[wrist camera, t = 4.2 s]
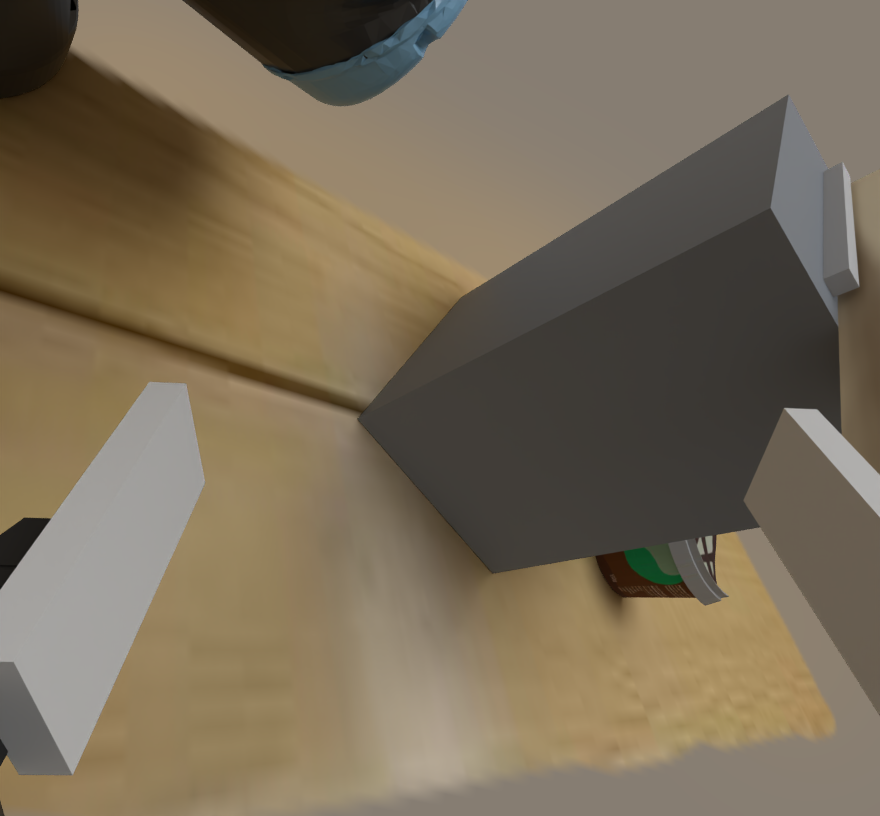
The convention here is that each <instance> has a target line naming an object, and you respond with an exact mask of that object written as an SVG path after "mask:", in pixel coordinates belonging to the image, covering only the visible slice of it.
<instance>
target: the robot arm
mask: <svg viewBox="0 0 880 816" xmlns="http://www.w3.org/2000/svg"><path fill="white" fill-rule="evenodd" d="M183 1H184V2H185V3H187V4H188V5H189V6H190V7H192V8H193V9H194V10H195V11H197V12H198V13H199V14H201V15H202V16H203V17H204V18H205V19H207V20H208V21H209V22H210V23H212V24H213V25H214V26H215V27H217V28H218V29H219V30H221V31H222V32H223V33H224V34H226V35H227V36H228V37H229V38H231V39H232V40H233V41H234V42H236V43H237V44H238V45H239V46H241V47H242V48H243V49H244V50H246V51H247V52H248V53H249V54H251V55H252V56H253V57H254V58H256V59H257V60H258V61H259V62H261V63H262V64H263V66H264V67H265V68H266V69H267V70H268V71H269V72H271V73H272V74H274V75H276V76H279V77H281V78H283V79H286V80H289V81H290V82H292V83H293V84H295V85H296V86H298V87H299V88H301V89H302V90H303V91H305V92H306V93H308V94H309V95H311V96H312V97H314V98H315V99H316V100H318V101H320V102H322V103H325V104H328V105H333V106H350V105H355V104H358V103H361V102H364V101H366V100H368V99H371V98H373V97H375V96H377V95H378V94H380V93H382V92H383V91H385V90H386V89H388V88H389V87H390V86H392V85H394V84H395V83H396V82H398V81H399V80H400V79H401V78H402V77H403V76H405V75H406V74H407V73H408V72H409V71H410V70H412V69H413V68H414V67H415V66H416V65H417V64H418V63H419V61H420V60H421V59H422V58H423V56H424V53H425V51H426V48H427V47H428V45H429V44H430V43H431V42H433V41H435V40H437V39H440V38H441V37H442V36H443V35H444V33H445V32H446V30H447V29H448V28H449V27H450V26H451V24H452V23H453V21H455V19H456V18H457V16H458V15H459V13H460V12H461V10H462V9H463V7H464V5H465V4H466V2H467V1H468V0H183ZM77 21H78V0H0V98H6V97H11V96H16V95H20V94H23V93H26V92H29V91H31V90H34V89H36V88H38V87H40V86H41V85H43V84H45V83H46V82H47V81H49V80H50V79H51V78H52V77H53V76H54V75H55V74H56V73H57V72H58V71H59V70H60V68H61V66H62V65H63V63H64V61H65V59H66V56H67V54H68V51H69V48H70V46H71V43H72V40H73V37H74V34H75V31H76V27H77ZM204 484H205V479H204V474H203V469H202V464H201V458H200V453H199V448H198V443H197V438H196V432H195V427H194V422H193V417H192V411H191V406H190V401H189V396H188V391H187V385H186V383H163V382H149V383H148V385H147V386H146V387H145V389H144V390H143V392H142V393H141V394H140V396H139V397H138V398H137V400H136V401H135V403H134V404H133V405H132V407H131V408H130V410H129V411H128V412H127V414H126V415H125V417H124V418H123V419H122V421H121V422H120V424H119V425H118V426H117V428H116V429H115V431H114V432H113V433H112V435H111V436H110V438H109V439H108V440H107V442H106V443H105V444H104V446H103V447H102V449H101V450H100V451H99V453H98V454H97V456H96V457H95V458H94V460H93V461H92V463H91V464H90V465H89V467H88V468H87V470H86V471H85V472H84V474H83V475H82V477H81V478H80V479H79V481H78V482H77V484H76V485H75V486H74V488H73V489H72V490H71V492H70V493H69V495H68V496H67V497H66V499H65V500H64V502H63V503H62V504H61V506H60V507H59V509H58V510H57V511H56V513H55V514H54V516H53V517H52V518H51V519H49V518H23V519H22V520H20V521H19V522H18V523H16V524H15V525H14V526H12V527H11V528H9V529H8V530H7V531H5V532H4V533H2V534H1V535H0V766H1V764H2V762H3V760H4V759H5V757H6V755H7V756H8V757H9V759H10V760H11V762H12V764H13V765H14V767H15V769H16V770H17V772H18V774H19V775H73V773H74V771H75V769H76V767H77V764H78V762H79V760H80V758H81V756H82V753H83V751H84V749H85V747H86V745H87V742H88V740H89V738H90V736H91V734H92V731H93V729H94V727H95V725H96V723H97V720H98V718H99V716H100V714H101V712H102V709H103V707H104V705H105V703H106V700H107V698H108V696H109V694H110V692H111V689H112V687H113V685H114V683H115V681H116V678H117V676H118V674H119V672H120V670H121V667H122V665H123V663H124V661H125V659H126V656H127V654H128V652H129V650H130V648H131V645H132V643H133V641H134V639H135V637H136V634H137V632H138V630H139V628H140V625H141V623H142V621H143V619H144V617H145V614H146V612H147V610H148V608H149V606H150V603H151V601H152V599H153V597H154V595H155V592H156V590H157V588H158V586H159V584H160V581H161V579H162V577H163V575H164V573H165V570H166V568H167V566H168V564H169V561H170V559H171V557H172V555H173V553H174V550H175V548H176V546H177V544H178V542H179V539H180V537H181V535H182V533H183V531H184V528H185V526H186V524H187V522H188V520H189V517H190V515H191V513H192V511H193V509H194V506H195V504H196V502H197V500H198V498H199V495H200V493H201V491H202V489H203V486H204ZM743 501H744V502H745V504H746V506H747V507H748V509H749V510H750V512H751V513H752V515H753V517H754V518H755V520H756V521H757V523H758V525H759V526H760V528H761V529H762V531H763V532H764V534H765V536H766V537H767V539H768V540H769V542H770V543H771V545H772V547H773V548H774V550H775V551H776V553H777V555H778V556H779V558H780V559H781V561H782V562H783V564H784V566H785V567H786V569H787V570H788V572H789V573H790V575H791V577H792V578H793V580H794V581H795V583H796V584H797V586H798V588H799V589H800V591H801V592H802V594H803V596H804V597H805V599H806V600H807V602H808V603H809V605H810V607H811V608H812V610H813V611H814V613H815V614H816V616H817V618H818V619H819V620H820V622H821V624H822V626H823V627H824V629H825V630H826V632H827V633H828V635H829V637H830V638H831V640H832V641H833V643H834V644H835V646H836V648H837V649H838V651H839V652H840V654H841V656H842V657H843V659H844V660H845V662H846V663H847V665H848V666H849V668H850V670H851V671H852V673H853V674H854V676H855V677H856V679H857V680H858V682H859V684H860V686H861V687H862V689H863V690H864V692H865V693H866V695H867V696H868V698H869V700H870V701H871V703H872V704H873V706H874V707H875V709H876V711H877V712H878V714H879V715H880V475H879V474H878V473H877V472H876V471H875V469H874V468H873V467H872V466H871V465H870V464H869V463H868V462H867V461H866V460H865V459H864V458H863V457H862V456H861V455H860V454H859V453H858V452H857V451H856V450H855V449H854V447H853V446H852V445H851V444H850V443H849V442H848V441H847V440H846V439H845V438H844V437H843V436H842V435H841V434H840V433H839V432H838V431H837V430H836V429H835V428H834V426H833V425H832V424H831V423H830V422H829V421H828V420H827V419H826V418H825V417H824V416H823V415H822V414H821V413H820V412H819V411H818V410H817V409H795V408H784V409H783V412H782V414H781V416H780V418H779V421H778V423H777V425H776V428H775V430H774V432H773V434H772V437H771V439H770V441H769V444H768V446H767V448H766V450H765V453H764V455H763V457H762V459H761V462H760V464H759V466H758V469H757V471H756V473H755V475H754V478H753V480H752V482H751V484H750V487H749V489H748V491H747V494H746V496H745V498H744V500H743ZM0 816H4V813H3V809H2V805H1V802H0Z"/></svg>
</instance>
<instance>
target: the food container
mask: <svg viewBox="0 0 880 816" xmlns="http://www.w3.org/2000/svg"><path fill="white" fill-rule="evenodd" d="M715 551H716V535H712V536H707V537H701V538H695V539H689V540H683V541H678V542H672V543H666V544H660V545H655V546H649V547H643V548H637V549H632V550H626V551H620V552H614V553H608V554H603V555H597V556H596V559H597V562H598V565H599V567H600V570H601V572H602V574H603V576H604V578H605V579H606V581H607V582H608V584H609V585H610V586H611V588H612V589H613V590H614V591H615V592H616V593H617V594H619V595H620V596H622V597H669V598H697V599H698V600H699V601H700V602H701V603H703V604H704V605H709V604H712V603H715V602H718V601H721V598H724V597H729V596H728V595H727V594H726V593H724V592H723V591H722V590H721V589H720V588H719V587H718V585H717V582H716V576H715Z"/></svg>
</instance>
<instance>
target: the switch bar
mask: <svg viewBox="0 0 880 816" xmlns="http://www.w3.org/2000/svg"><path fill="white" fill-rule="evenodd" d="M851 193H852V205H853V217H854V229H855V241H856V253H857V264H858V276H859V287H858V288H856V289H853V290H851V291H848V292H846V293H843V294H840V295H838V296H837V298H838V331H839V364H840V397H841V429H842V436H843V437H844V438H845V439H846V440H847V441H848V442H849V443H850V444H851V445H852V446H853V447H854V449H855V450H856V451H857V452H858V453H859V454H860V455H861V456H862V457H863V458H864V459H865V460H866V461H867V462H868V463H869V464H870V465H871V466H872V467H873V468H874V469H875V471H876V472H877V473H878V474H879V475H880V169H879V170H877V171H875V172H873V173H871V174H869V175H867V176H865V177H863V178H861V179H859V180H857V181H855V182H853V183H851Z"/></svg>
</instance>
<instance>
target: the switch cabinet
mask: <svg viewBox="0 0 880 816" xmlns="http://www.w3.org/2000/svg"><path fill="white" fill-rule="evenodd" d="M858 287H859V276H858V264H857V253H856V241H855V229H854V217H853V205H852V193H851V182H850V175H849V173H848V171H847V170H846V168H845V166H844V164H843V162H841V163H839V164H837V165H835V166H834V167H832V168H830V169H828V168H827V166H826V165H825V162H824V161H823V159H822V157H821V155H820V153H819V151H818V149H817V147H816V145H815V143H814V141H813V140H812V138H811V136H810V134H809V132H808V130H807V128H806V126H805V125H804V123H803V121H802V119H801V117H800V115H799V113H798V111H797V109H796V107H795V105H794V104H793V102H792V100H791V98H790V96H789V95H787V96H785V97H784V98H782V99H781V100H779V101H777V102H776V103H774V104H772V105H771V106H769V107H768V108H766V109H764V110H763V111H761V112H760V113H758V114H756V115H755V116H753V117H751V118H750V119H748V120H747V121H745V122H743V123H742V124H740V125H739V126H737V127H735V128H734V129H732V130H731V131H729V132H727V133H726V134H724V135H722V136H721V137H719V138H718V139H716V140H715V141H713V142H711V143H710V144H708V145H707V146H705V147H703V148H701V149H700V150H698V151H697V152H695V153H694V154H692V155H690V156H689V157H687V158H686V159H684V160H682V161H680V162H679V163H677V164H676V165H674V166H672V167H671V168H669V169H668V170H666V171H664V172H663V173H661V174H660V175H658V176H656V177H655V178H653V179H651V180H650V181H648V182H647V183H645V184H643V185H642V186H640V187H639V188H637V189H635V190H634V191H632V192H631V193H629V194H627V195H626V196H624V197H622V198H621V199H619V200H618V201H616V202H614V203H613V204H611V205H610V206H608V207H606V208H605V209H603V210H602V211H600V212H598V213H597V214H595V215H593V216H592V217H590V218H589V219H587V220H586V221H584V222H582V223H581V224H579V225H577V226H576V227H574V228H572V229H571V230H569V231H568V232H566V233H564V234H563V235H561V236H560V237H558V238H556V239H555V240H553V241H551V242H550V243H548V244H547V245H545V246H544V247H542V248H540V249H539V250H537V251H536V252H534V253H532V254H531V255H529V256H527V257H526V258H524V259H523V260H521V261H519V262H518V263H516V264H514V265H513V266H511V267H510V268H508V269H506V270H505V271H503V272H502V273H500V274H498V275H497V276H495V277H494V278H492V279H490V280H489V281H487V282H485V283H484V284H482V285H481V286H479V287H477V288H476V289H474V290H472V291H471V292H469V293H468V294H466V295H464V296H463V297H461V298H460V299H459V301H458V302H457V303H456V304H455V305H454V306H453V308H452V309H451V310H450V311H449V312H448V314H447V315H446V316H445V317H444V318H443V319H442V321H441V322H440V323H439V324H438V325H437V326H436V328H435V329H434V330H433V331H432V332H431V333H430V335H429V336H428V337H427V338H426V339H425V341H424V342H423V343H422V344H421V345H420V346H419V348H418V349H417V350H416V351H415V352H414V353H413V355H412V356H411V357H410V358H409V359H408V360H407V362H406V363H405V364H404V365H403V366H402V367H401V369H400V370H399V371H398V372H397V373H396V375H395V376H394V377H393V378H392V379H391V380H390V382H389V383H388V384H387V385H386V386H385V387H384V389H383V390H382V391H381V392H380V393H379V394H378V396H377V397H376V398H375V399H374V400H373V401H372V403H371V404H370V405H369V406H368V407H367V409H366V410H365V411H364V412H363V413H362V414H361V416H360V417H359V418H358V420H359V421H360V422H361V423H362V425H363V426H364V427H365V428H366V429H367V430H368V431H369V433H370V434H371V435H372V436H373V437H374V438H375V439H376V441H377V442H378V443H379V444H380V445H381V446H382V447H383V449H384V450H385V451H386V452H387V453H388V454H389V455H390V457H391V458H392V459H393V460H394V461H395V462H396V463H397V465H398V466H399V467H400V468H401V469H402V470H403V471H404V472H405V474H406V475H407V476H408V477H409V478H410V479H411V480H412V482H413V483H414V484H415V485H416V486H417V487H418V488H419V490H420V491H421V492H422V493H423V494H424V495H425V496H426V498H427V499H428V500H429V501H430V502H431V503H432V504H433V506H434V507H435V508H436V509H437V510H438V511H439V512H440V514H441V515H442V516H443V517H444V518H445V519H446V520H447V522H448V523H449V524H450V525H451V526H452V527H453V528H454V530H455V531H456V532H457V533H458V534H459V535H460V536H461V538H462V539H463V540H464V541H465V542H466V543H467V544H468V546H469V547H470V548H471V549H472V550H473V551H474V552H475V554H476V555H477V556H478V557H479V558H480V559H481V560H482V562H483V563H484V564H485V565H486V566H487V567H488V568H489V570H490V571H491V572H492V573H499V572H505V571H510V570H516V569H522V568H528V567H533V566H539V565H545V564H551V563H556V562H562V561H568V560H574V559H580V558H585V557H591V556H597V555H603V554H608V553H614V552H620V551H626V550H632V549H637V548H643V547H649V546H655V545H660V544H666V543H672V542H678V541H683V540H689V539H695V538H701V537H707V536H712V535H718V534H724V533H730V532H735V531H741V530H747V529H753V528H759V527H760V526H759V525H758V523H757V521H756V520H755V518H754V517H753V515H752V513H751V512H750V510H749V509H748V507H747V506H746V504H745V502H744V501H743V500H744V498H745V496H746V494H747V491H748V489H749V487H750V484H751V482H752V480H753V478H754V475H755V473H756V471H757V469H758V466H759V464H760V462H761V459H762V457H763V455H764V453H765V450H766V448H767V446H768V444H769V441H770V439H771V437H772V434H773V432H774V430H775V428H776V425H777V423H778V421H779V418H780V416H781V414H782V412H783V409H784V408H795V409H817V410H818V411H819V412H820V413H821V414H822V415H823V416H824V417H825V418H826V419H827V420H828V421H829V422H830V423H831V424H832V425H833V426H834V428H835V429H836V430H837V431H838V432H839V433H840V434H841V435H842V429H841V397H840V364H839V331H838V298H837V296H838V295H840V294H843V293H846V292H848V291H851V290H853V289H856V288H858Z"/></svg>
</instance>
